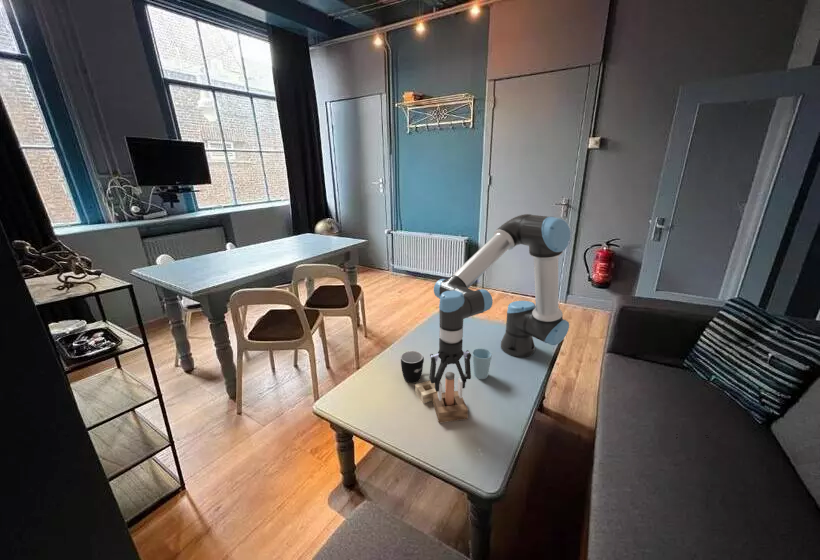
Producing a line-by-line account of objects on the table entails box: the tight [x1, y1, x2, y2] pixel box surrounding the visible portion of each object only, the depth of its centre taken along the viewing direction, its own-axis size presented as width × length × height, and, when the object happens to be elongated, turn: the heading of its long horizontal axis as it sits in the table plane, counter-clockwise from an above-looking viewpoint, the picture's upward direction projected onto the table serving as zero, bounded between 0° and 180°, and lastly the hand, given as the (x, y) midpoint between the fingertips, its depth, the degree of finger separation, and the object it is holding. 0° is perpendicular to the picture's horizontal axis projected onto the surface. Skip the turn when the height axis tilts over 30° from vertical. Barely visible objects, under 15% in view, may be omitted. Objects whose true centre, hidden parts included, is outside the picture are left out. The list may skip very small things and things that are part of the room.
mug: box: [400, 350, 425, 384], centre depth 133 cm, size 12×9×10 cm
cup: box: [471, 347, 493, 380], centre depth 132 cm, size 8×8×10 cm
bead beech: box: [414, 379, 438, 404], centre depth 122 cm, size 7×7×4 cm
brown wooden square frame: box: [432, 390, 469, 423], centre depth 114 cm, size 10×10×4 cm
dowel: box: [444, 371, 456, 406], centre depth 112 cm, size 3×3×15 cm
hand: (449, 396), depth 113 cm, fingers open, 7 cm apart
